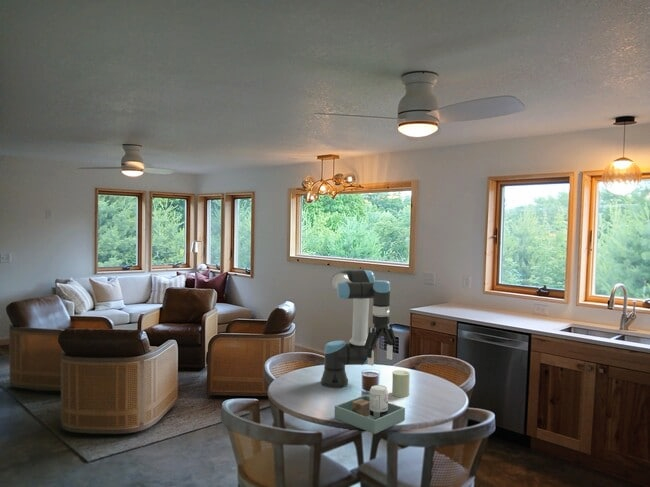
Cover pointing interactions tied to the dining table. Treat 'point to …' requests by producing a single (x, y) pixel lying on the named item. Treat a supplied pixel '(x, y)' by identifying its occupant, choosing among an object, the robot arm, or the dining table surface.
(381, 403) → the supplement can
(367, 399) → the tote
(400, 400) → the dining table surface
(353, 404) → the walnut cube
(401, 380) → the can
